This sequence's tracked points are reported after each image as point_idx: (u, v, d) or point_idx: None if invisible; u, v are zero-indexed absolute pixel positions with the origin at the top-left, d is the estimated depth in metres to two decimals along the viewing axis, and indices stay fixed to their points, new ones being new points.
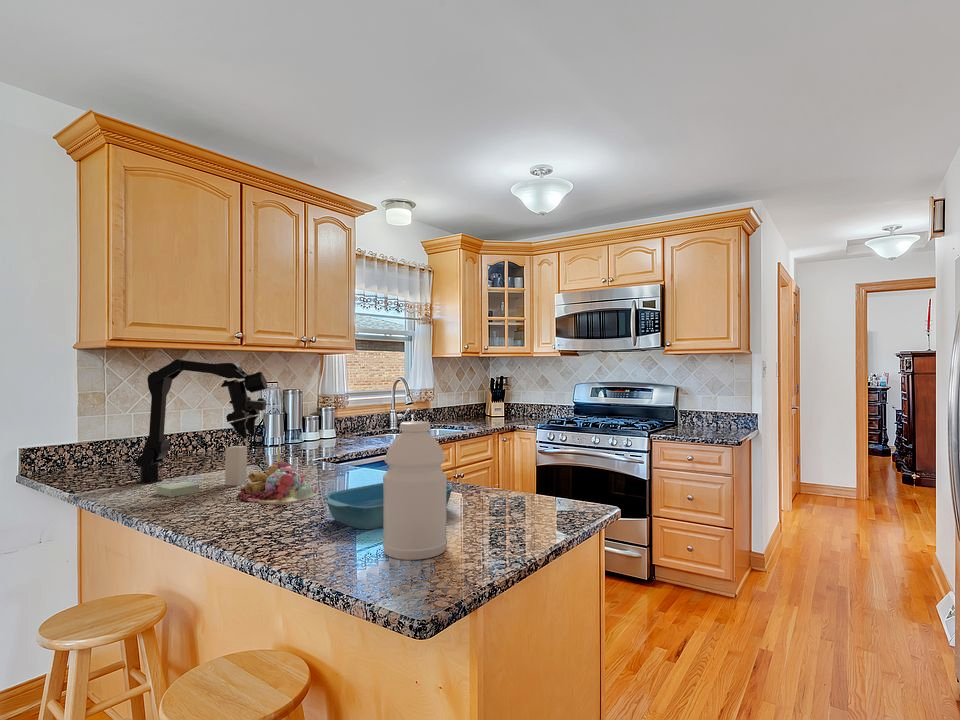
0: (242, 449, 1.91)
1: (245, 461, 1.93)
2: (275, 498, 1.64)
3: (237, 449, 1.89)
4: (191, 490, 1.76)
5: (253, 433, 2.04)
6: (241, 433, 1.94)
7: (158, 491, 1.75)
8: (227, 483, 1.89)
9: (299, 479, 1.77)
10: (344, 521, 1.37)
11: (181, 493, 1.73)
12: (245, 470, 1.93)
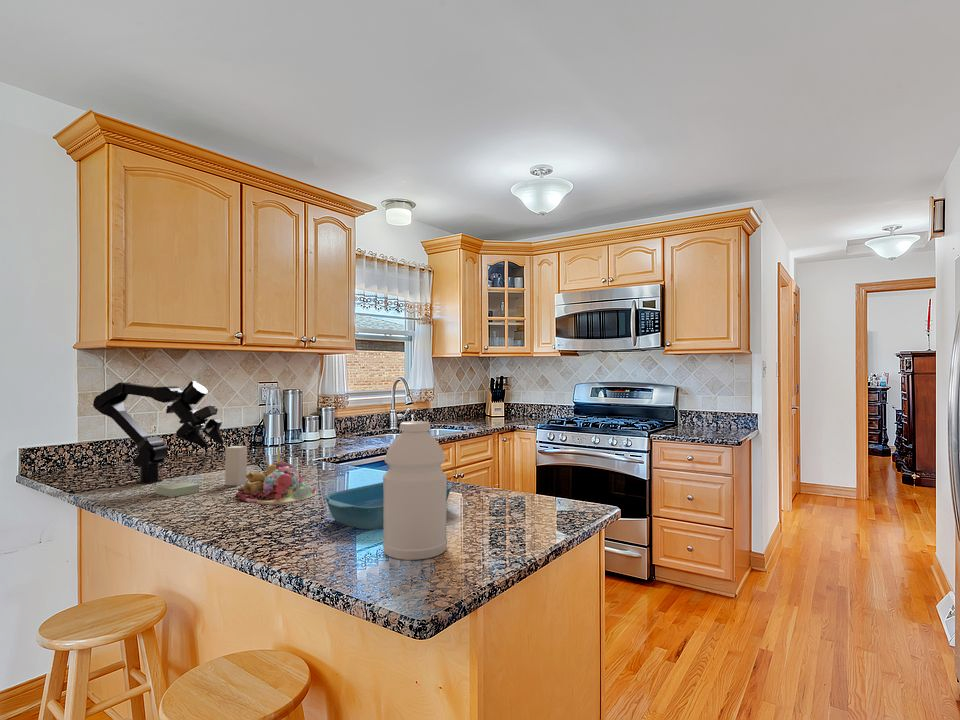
0: (242, 449, 1.91)
1: (245, 461, 1.93)
2: (273, 498, 1.64)
3: (237, 449, 1.89)
4: (191, 490, 1.76)
5: (221, 441, 1.97)
6: (200, 443, 1.87)
7: (158, 491, 1.75)
8: (227, 483, 1.89)
9: (297, 479, 1.77)
10: (346, 522, 1.37)
11: (181, 493, 1.73)
12: (245, 470, 1.93)
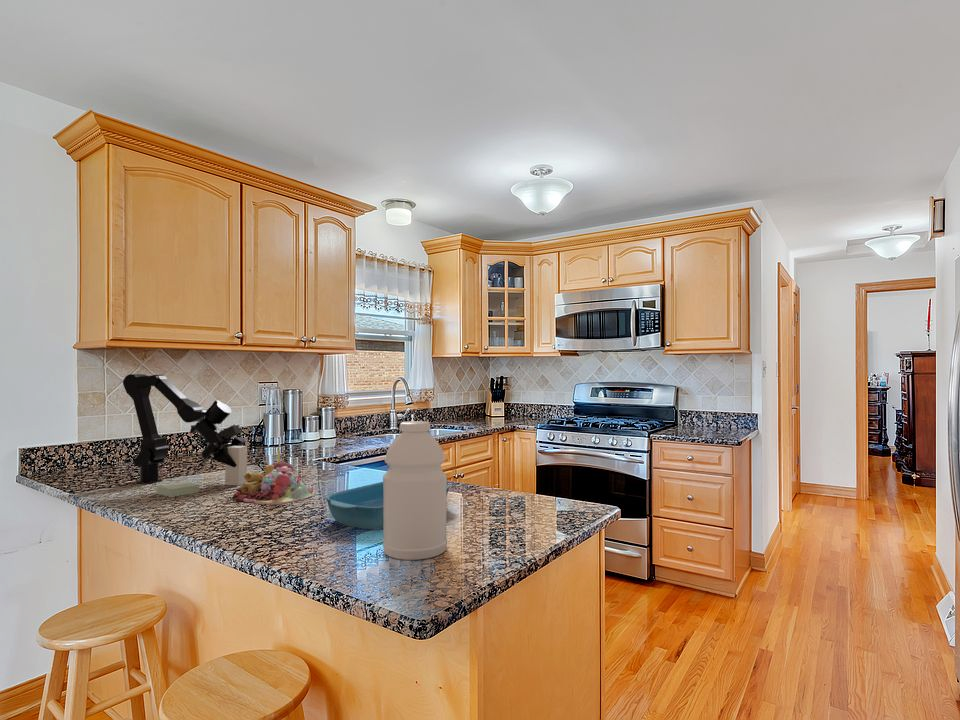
0: (242, 449, 1.91)
1: (245, 461, 1.93)
2: (271, 498, 1.64)
3: (237, 449, 1.89)
4: (191, 490, 1.76)
5: None
6: (229, 463, 1.88)
7: (158, 491, 1.75)
8: (227, 483, 1.89)
9: (295, 479, 1.76)
10: (349, 522, 1.36)
11: (181, 493, 1.73)
12: (245, 470, 1.93)
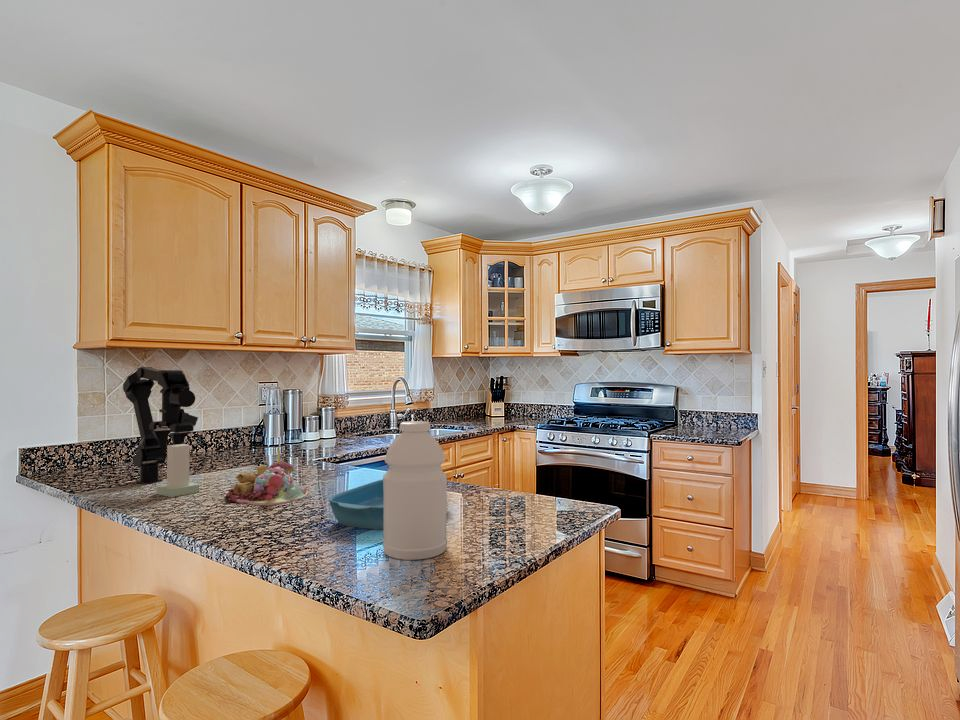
0: (180, 448, 1.75)
1: (186, 461, 1.76)
2: (264, 499, 1.63)
3: (172, 448, 1.74)
4: (191, 490, 1.76)
5: (165, 448, 1.90)
6: None
7: (158, 491, 1.75)
8: (167, 483, 1.76)
9: (288, 480, 1.76)
10: (359, 524, 1.35)
11: (181, 493, 1.73)
12: (186, 471, 1.76)
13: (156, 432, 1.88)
